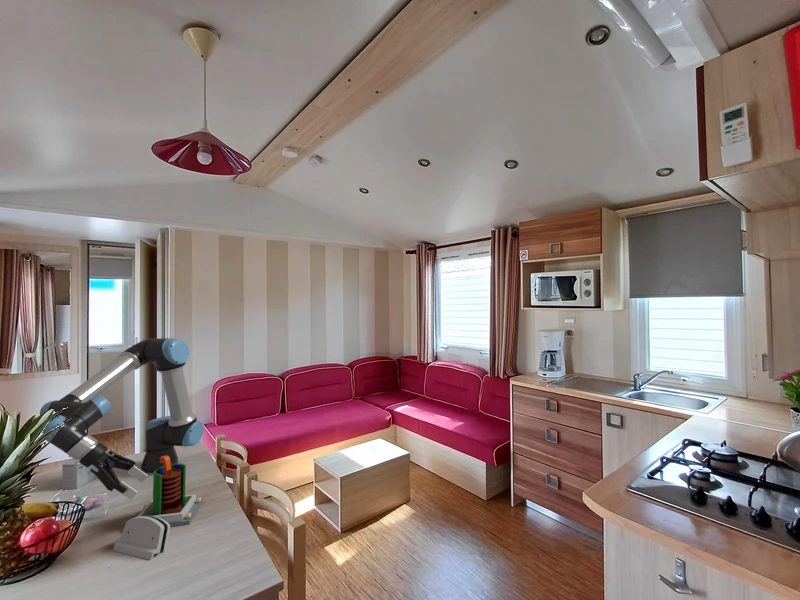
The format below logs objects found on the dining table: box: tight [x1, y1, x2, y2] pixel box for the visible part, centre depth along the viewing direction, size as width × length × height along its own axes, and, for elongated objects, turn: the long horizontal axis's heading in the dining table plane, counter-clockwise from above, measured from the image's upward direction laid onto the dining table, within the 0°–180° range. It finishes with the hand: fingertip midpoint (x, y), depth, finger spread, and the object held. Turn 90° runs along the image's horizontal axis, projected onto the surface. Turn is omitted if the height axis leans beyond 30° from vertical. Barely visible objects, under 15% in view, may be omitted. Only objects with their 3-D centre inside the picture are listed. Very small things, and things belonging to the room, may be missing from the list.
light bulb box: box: [61, 458, 97, 490], centre depth 159 cm, size 11×7×11 cm, turn 2°
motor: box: [152, 456, 187, 516], centre depth 133 cm, size 10×9×20 cm
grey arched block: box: [112, 516, 171, 561], centre depth 115 cm, size 17×5×10 cm, turn 73°
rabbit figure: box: [72, 494, 111, 511], centre depth 137 cm, size 6×6×15 cm
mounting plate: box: [135, 493, 204, 527], centre depth 132 cm, size 15×20×4 cm
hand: (140, 487), depth 129 cm, fingers open, 13 cm apart
